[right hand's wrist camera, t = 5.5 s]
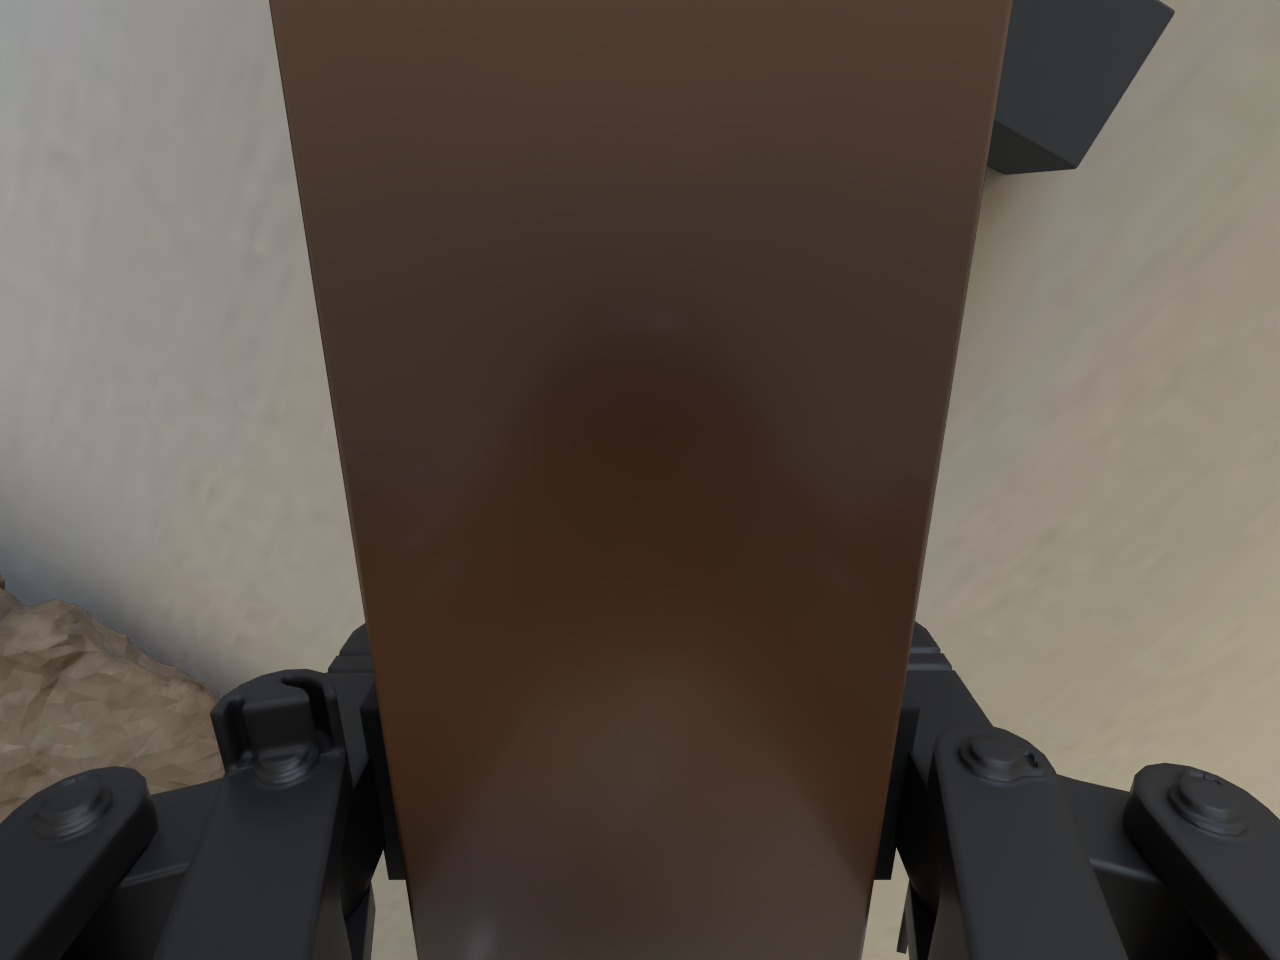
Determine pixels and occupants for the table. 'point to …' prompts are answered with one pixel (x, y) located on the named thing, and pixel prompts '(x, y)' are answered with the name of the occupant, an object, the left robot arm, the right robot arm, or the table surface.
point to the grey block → (1066, 77)
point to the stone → (93, 706)
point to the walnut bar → (640, 439)
